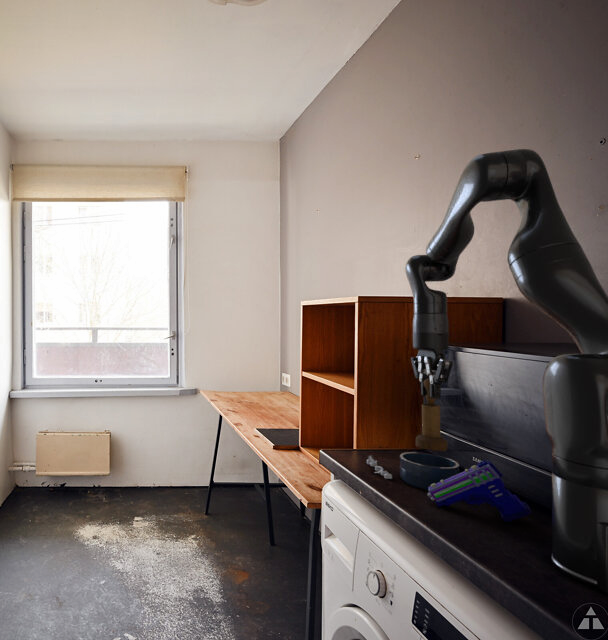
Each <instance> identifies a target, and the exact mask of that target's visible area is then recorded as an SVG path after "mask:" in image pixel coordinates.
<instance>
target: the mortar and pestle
mask: <svg viewBox="0 0 608 640" xmlns="http://www.w3.org/2000/svg"><path fill="white" fill-rule="evenodd" d="M430 384H431V383H430V378H427V379H425V380H424V386H425V388H426V390H427V392H428V393H427V395H425V396H424V397H425V400H426V403H422V404H421V433H419V434H418V435H417V436H416V437H415V446H416V447H417V448H419V449H422V450H427V451H434V452H446V451H448V440H447V439H445V437H444V436H442V434H441V433H442V432H441V405H439V404H435V403H436V400H437V399H432V398H430Z"/></svg>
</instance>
